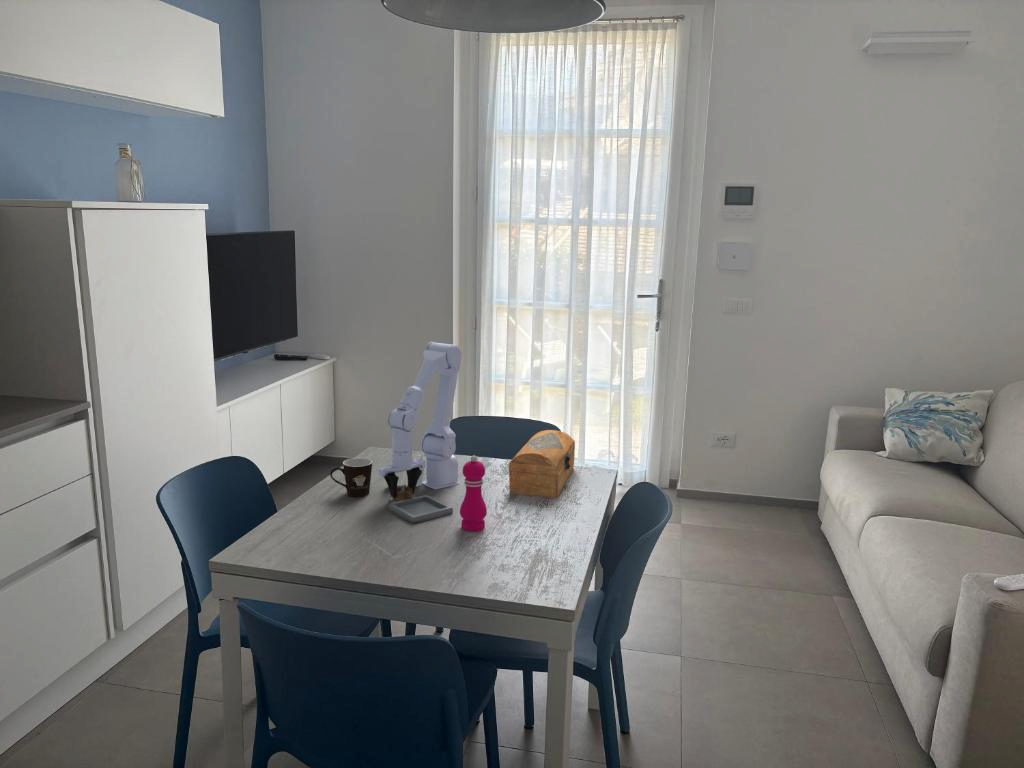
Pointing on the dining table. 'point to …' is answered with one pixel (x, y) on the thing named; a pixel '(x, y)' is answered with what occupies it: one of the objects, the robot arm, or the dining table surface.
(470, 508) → the pepper mill
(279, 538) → the dining table surface
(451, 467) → the robot arm
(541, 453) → the wooden box
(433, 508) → the tray
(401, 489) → the grey round piece
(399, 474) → the salt and pepper shakers
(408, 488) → the ring
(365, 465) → the coffee mug
